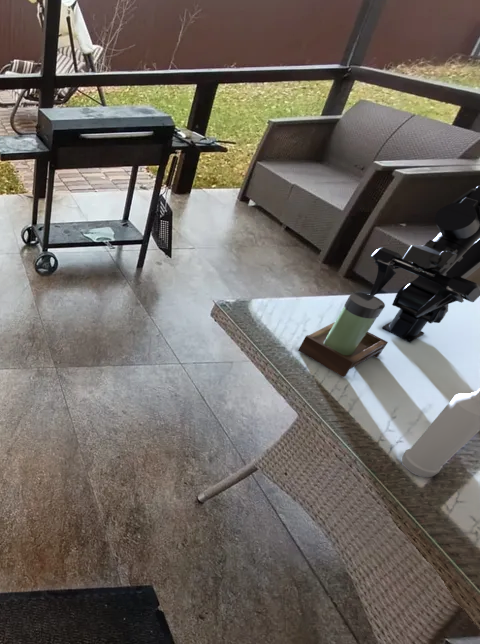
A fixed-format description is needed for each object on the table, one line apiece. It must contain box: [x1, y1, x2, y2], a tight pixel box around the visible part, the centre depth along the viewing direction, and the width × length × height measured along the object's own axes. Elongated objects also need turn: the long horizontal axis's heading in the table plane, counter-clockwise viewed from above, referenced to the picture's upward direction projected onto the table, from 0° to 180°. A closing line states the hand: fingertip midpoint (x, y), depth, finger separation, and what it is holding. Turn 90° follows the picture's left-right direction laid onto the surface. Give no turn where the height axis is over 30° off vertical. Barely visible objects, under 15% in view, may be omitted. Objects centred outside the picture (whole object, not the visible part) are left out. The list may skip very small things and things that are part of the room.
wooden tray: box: [297, 321, 389, 378], centre depth 109 cm, size 14×10×4 cm
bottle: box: [400, 387, 480, 478], centre depth 78 cm, size 5×5×25 cm
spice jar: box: [324, 292, 386, 355], centre depth 104 cm, size 6×6×13 cm
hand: (392, 305), depth 103 cm, fingers open, 9 cm apart
